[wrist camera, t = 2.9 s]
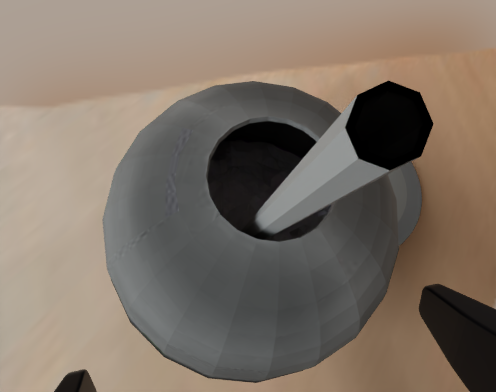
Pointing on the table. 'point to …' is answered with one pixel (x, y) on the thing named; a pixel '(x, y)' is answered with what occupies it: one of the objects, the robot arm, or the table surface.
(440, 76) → the table surface
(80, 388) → the robot arm
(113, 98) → the table surface
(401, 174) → the slate dish
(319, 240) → the beverage cup
